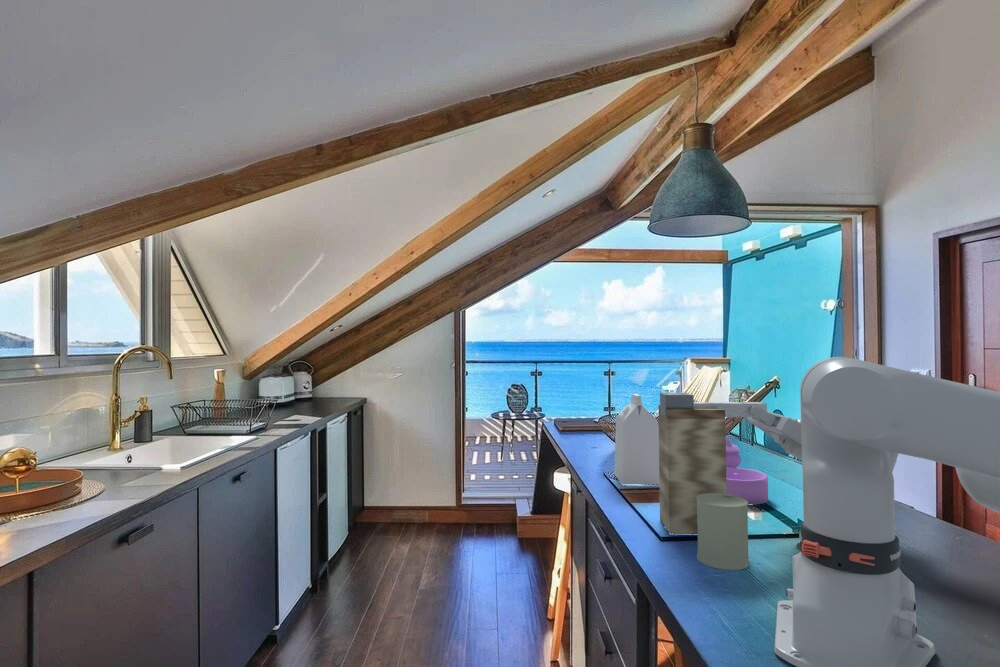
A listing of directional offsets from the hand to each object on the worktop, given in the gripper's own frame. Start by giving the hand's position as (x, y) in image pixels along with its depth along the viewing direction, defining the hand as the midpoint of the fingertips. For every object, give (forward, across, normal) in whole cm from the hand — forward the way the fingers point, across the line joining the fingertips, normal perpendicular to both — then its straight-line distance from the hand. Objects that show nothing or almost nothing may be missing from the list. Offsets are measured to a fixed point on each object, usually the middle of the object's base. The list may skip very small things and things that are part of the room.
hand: (746, 407), depth 118 cm
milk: (+2, +42, -32) cm, 53 cm away
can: (-4, -18, -29) cm, 34 cm away
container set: (-20, +30, -20) cm, 42 cm away
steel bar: (+5, 0, -5) cm, 8 cm away
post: (-3, 0, -30) cm, 30 cm away
